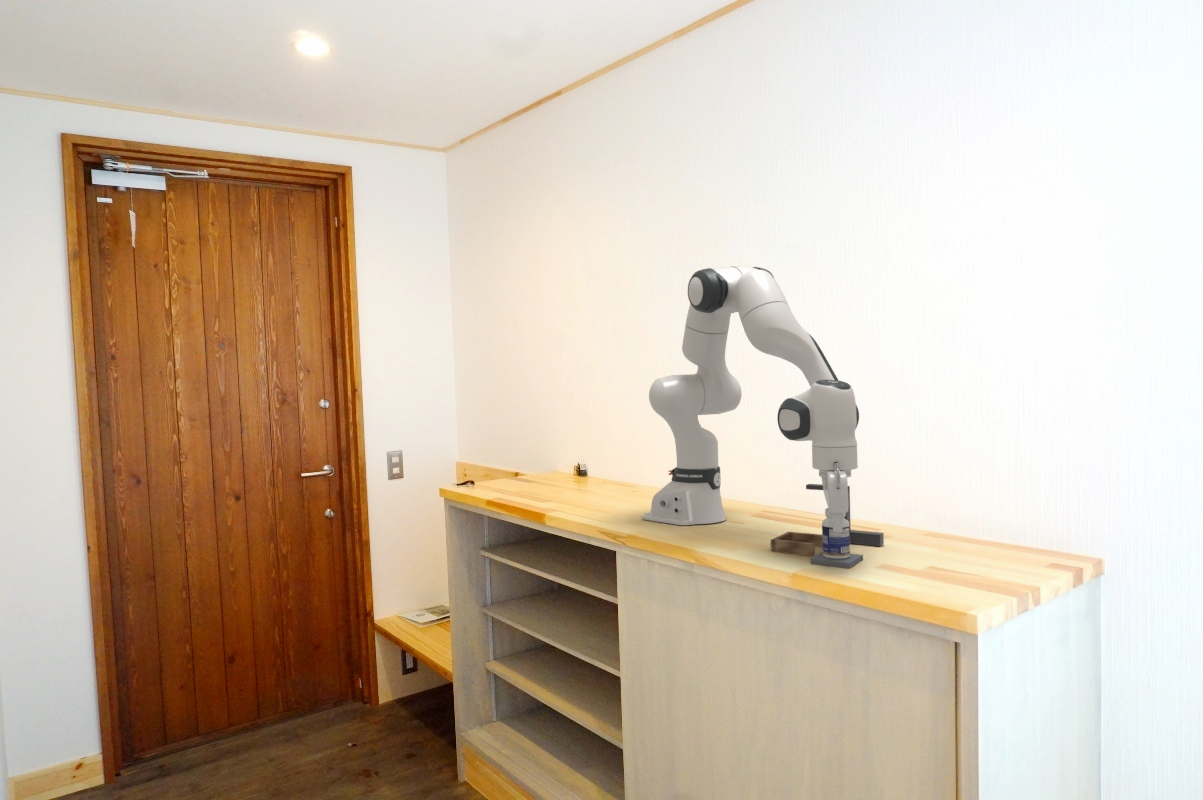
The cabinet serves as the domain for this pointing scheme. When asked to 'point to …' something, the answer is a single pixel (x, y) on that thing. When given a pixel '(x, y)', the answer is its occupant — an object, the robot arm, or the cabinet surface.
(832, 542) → the pill bottle
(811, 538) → the cradle
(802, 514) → the cabinet surface
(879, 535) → the gate
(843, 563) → the mat
